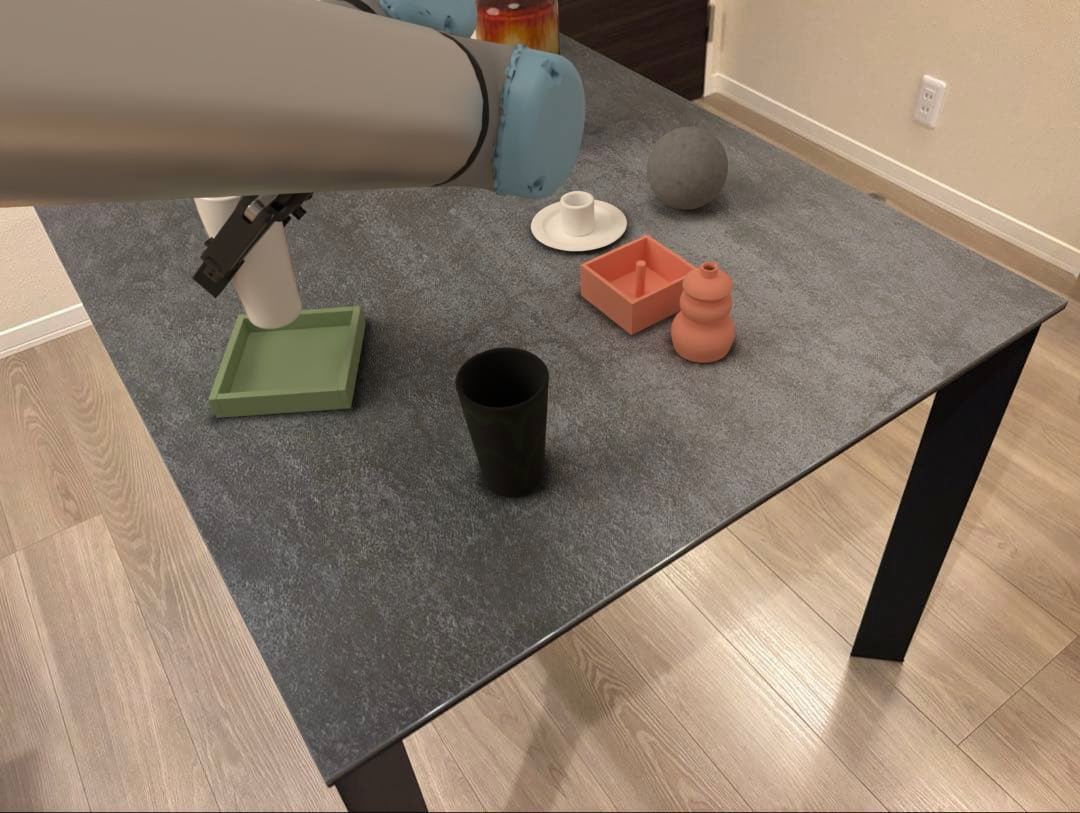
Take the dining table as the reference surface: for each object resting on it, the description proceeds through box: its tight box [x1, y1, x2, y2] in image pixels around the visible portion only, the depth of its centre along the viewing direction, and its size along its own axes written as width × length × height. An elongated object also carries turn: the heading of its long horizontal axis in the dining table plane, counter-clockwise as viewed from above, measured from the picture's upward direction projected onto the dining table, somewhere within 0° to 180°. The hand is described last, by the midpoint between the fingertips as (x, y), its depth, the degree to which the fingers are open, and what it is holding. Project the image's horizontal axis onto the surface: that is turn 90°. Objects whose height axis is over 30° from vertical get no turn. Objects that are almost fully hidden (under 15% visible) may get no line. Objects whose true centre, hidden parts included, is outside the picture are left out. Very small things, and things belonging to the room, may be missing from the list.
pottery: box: [579, 234, 736, 364], centre depth 87 cm, size 18×10×10 cm, turn 34°
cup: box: [454, 346, 550, 499], centre depth 71 cm, size 8×8×12 cm
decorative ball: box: [646, 126, 729, 211], centre depth 103 cm, size 10×10×10 cm
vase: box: [474, 0, 561, 56], centre depth 111 cm, size 11×11×26 cm
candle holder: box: [530, 190, 628, 252], centre depth 103 cm, size 12×12×4 cm
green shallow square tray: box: [207, 305, 367, 419], centre depth 87 cm, size 14×14×3 cm
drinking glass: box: [193, 196, 303, 329], centre depth 78 cm, size 7×7×15 cm
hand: (230, 264), depth 80 cm, fingers closed on drinking glass, 7 cm apart
